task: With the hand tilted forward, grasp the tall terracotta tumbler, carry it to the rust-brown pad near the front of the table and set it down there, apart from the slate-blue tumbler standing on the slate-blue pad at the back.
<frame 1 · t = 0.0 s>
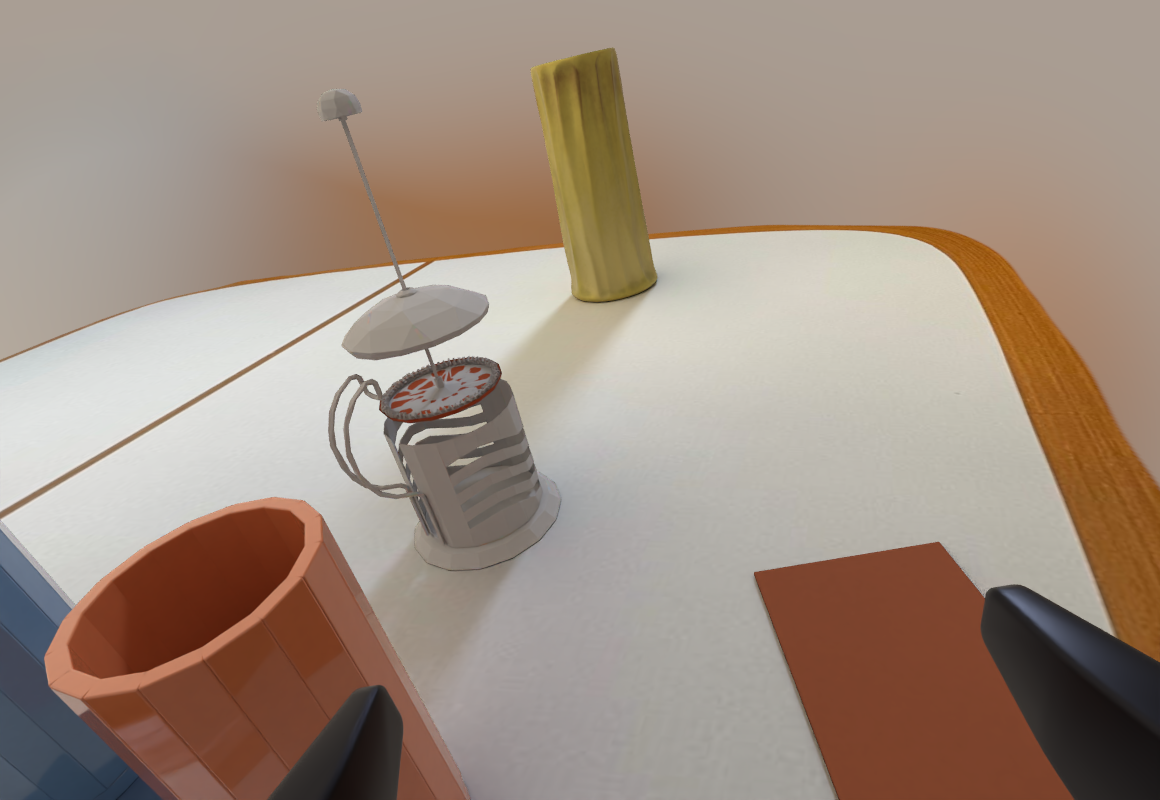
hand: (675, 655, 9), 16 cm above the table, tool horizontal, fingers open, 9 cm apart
blue tumbler: (90, 764, 28), resting on blue pad
vase: (615, 288, 73), on the table
clay pad: (906, 666, 24), on the table
blue pad: (92, 767, 28), on the table
french press: (478, 524, 38), on the table
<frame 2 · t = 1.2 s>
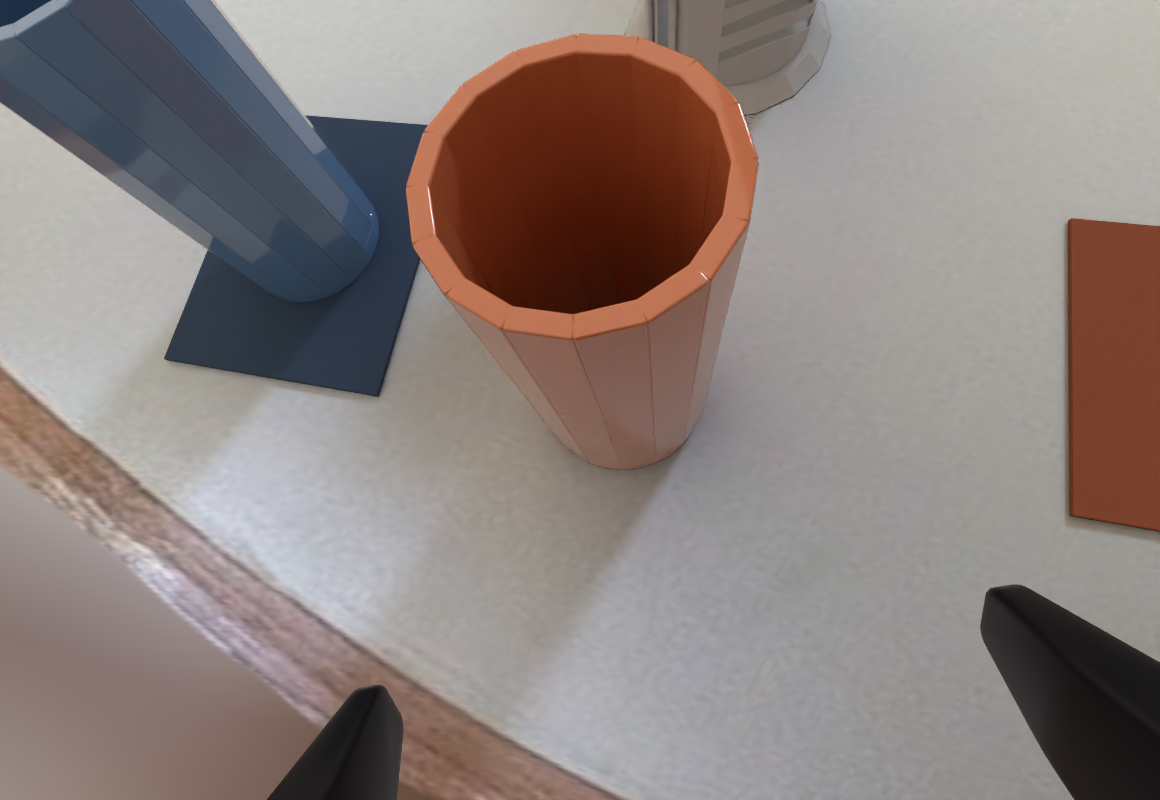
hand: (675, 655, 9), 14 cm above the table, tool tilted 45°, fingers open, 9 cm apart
blue tumbler: (314, 240, 28), resting on blue pad
terracotta tumbler: (622, 390, 24), on the table
blue pad: (316, 242, 28), on the table
french press: (709, 48, 29), on the table
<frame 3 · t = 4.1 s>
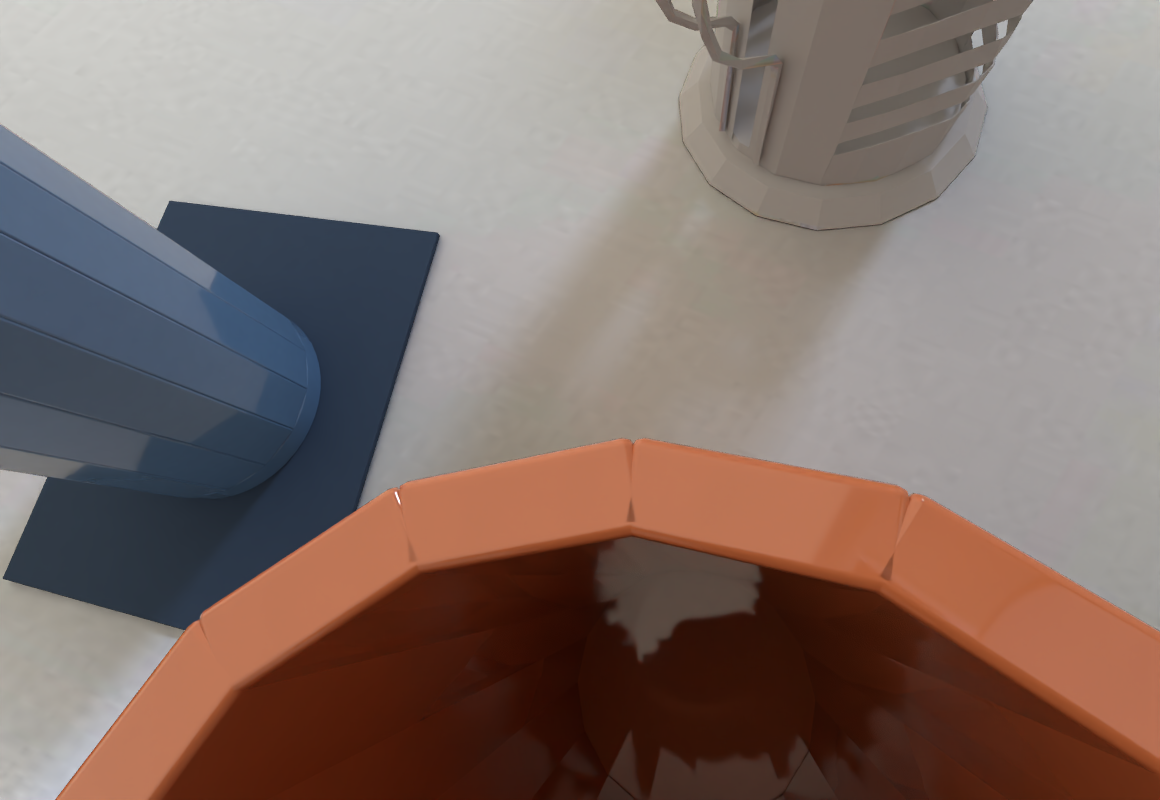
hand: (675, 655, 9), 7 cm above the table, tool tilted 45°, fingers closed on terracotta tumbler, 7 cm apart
blue tumbler: (227, 399, 19), resting on blue pad
terracotta tumbler: (692, 684, 15), on the table, touching gripper
blue pad: (232, 401, 20), on the table
french press: (804, 120, 20), on the table
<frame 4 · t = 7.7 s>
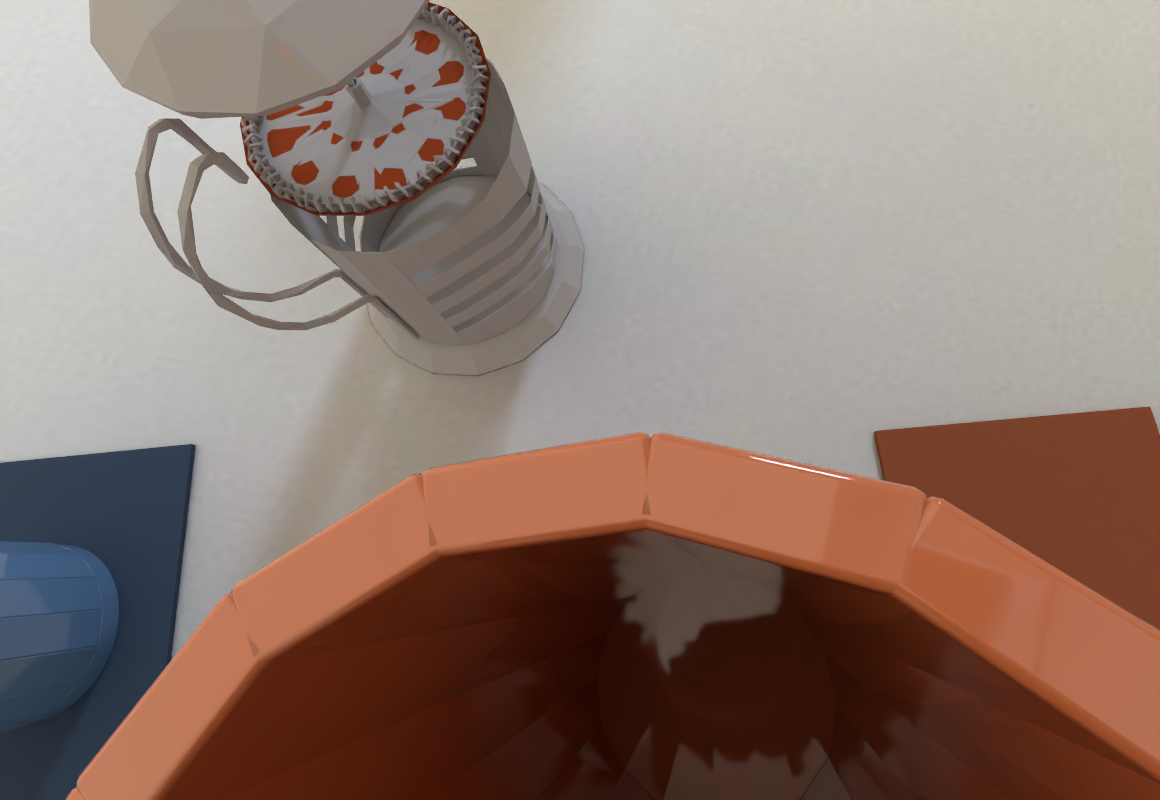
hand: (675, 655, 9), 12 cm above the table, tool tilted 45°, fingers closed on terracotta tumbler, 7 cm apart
blue tumbler: (43, 630, 23), resting on blue pad
clay pad: (1055, 598, 19), on the table
terracotta tumbler: (711, 684, 15), point 5 cm above the table, tilted 6°, touching gripper
blue pad: (49, 629, 23), on the table
french press: (459, 285, 25), on the table
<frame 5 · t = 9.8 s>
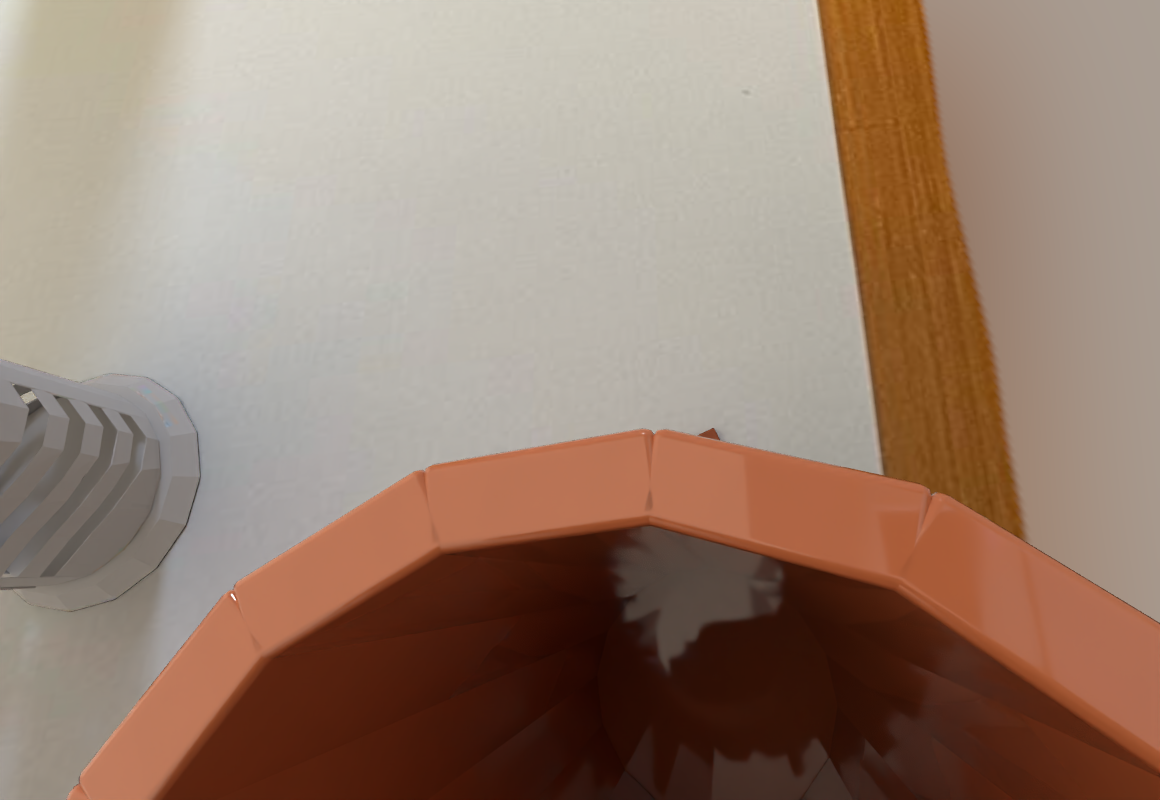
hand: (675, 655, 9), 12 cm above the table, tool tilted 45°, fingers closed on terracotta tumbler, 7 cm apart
terracotta tumbler: (712, 684, 15), point 5 cm above the table, tilted 6°, touching gripper
french press: (84, 507, 24), on the table
when the fingers open (8 cm above the table, at t = 11.5 s): terracotta tumbler stays where it is, resting on clay pad.
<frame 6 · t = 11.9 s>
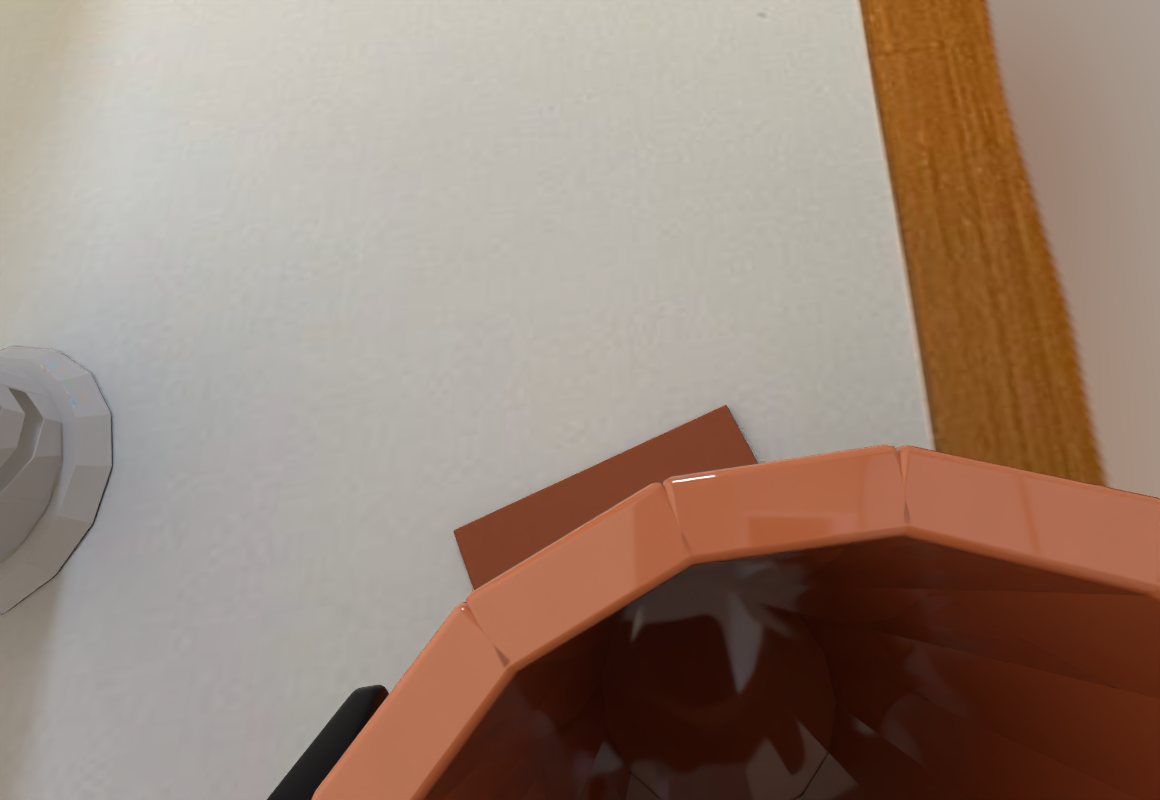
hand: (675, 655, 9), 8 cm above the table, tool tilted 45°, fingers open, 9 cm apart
clay pad: (679, 668, 16), on the table
terracotta tumbler: (712, 685, 15), resting on clay pad, touching gripper
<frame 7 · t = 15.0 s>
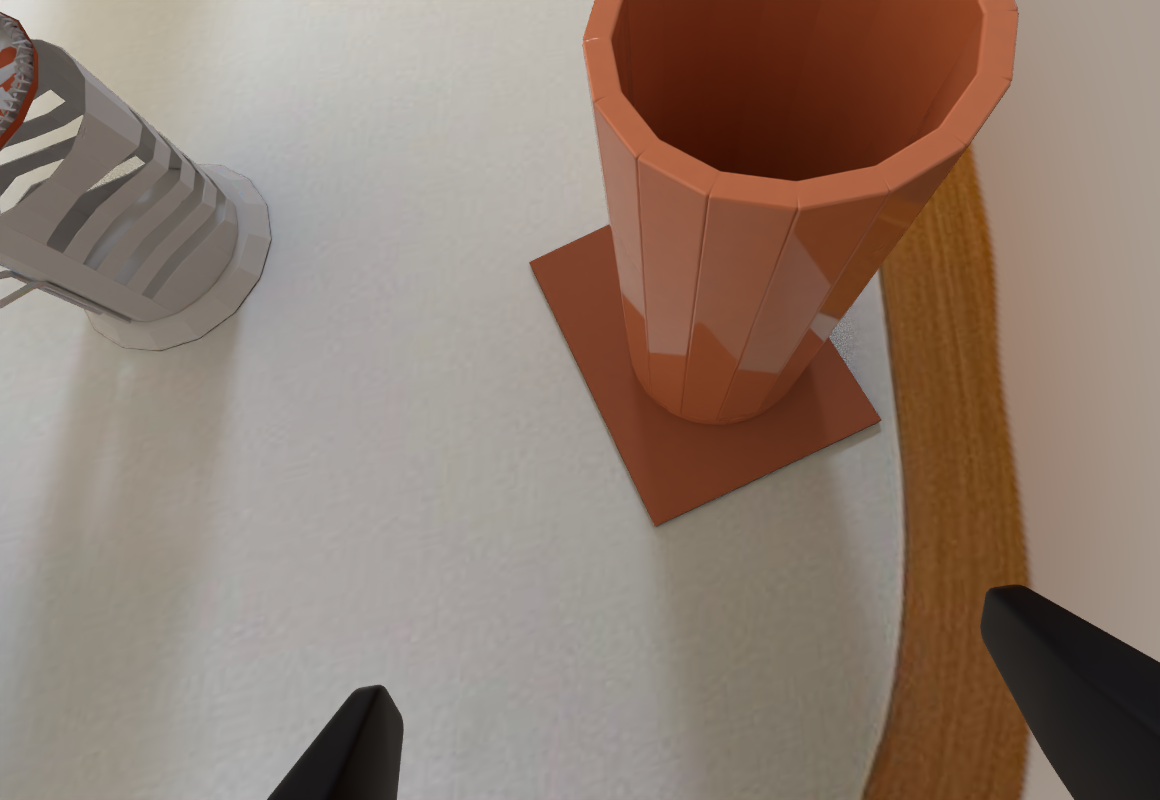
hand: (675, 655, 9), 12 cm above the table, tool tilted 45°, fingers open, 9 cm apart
clay pad: (691, 336, 23), on the table
terracotta tumbler: (714, 342, 23), resting on clay pad
french press: (168, 271, 28), on the table
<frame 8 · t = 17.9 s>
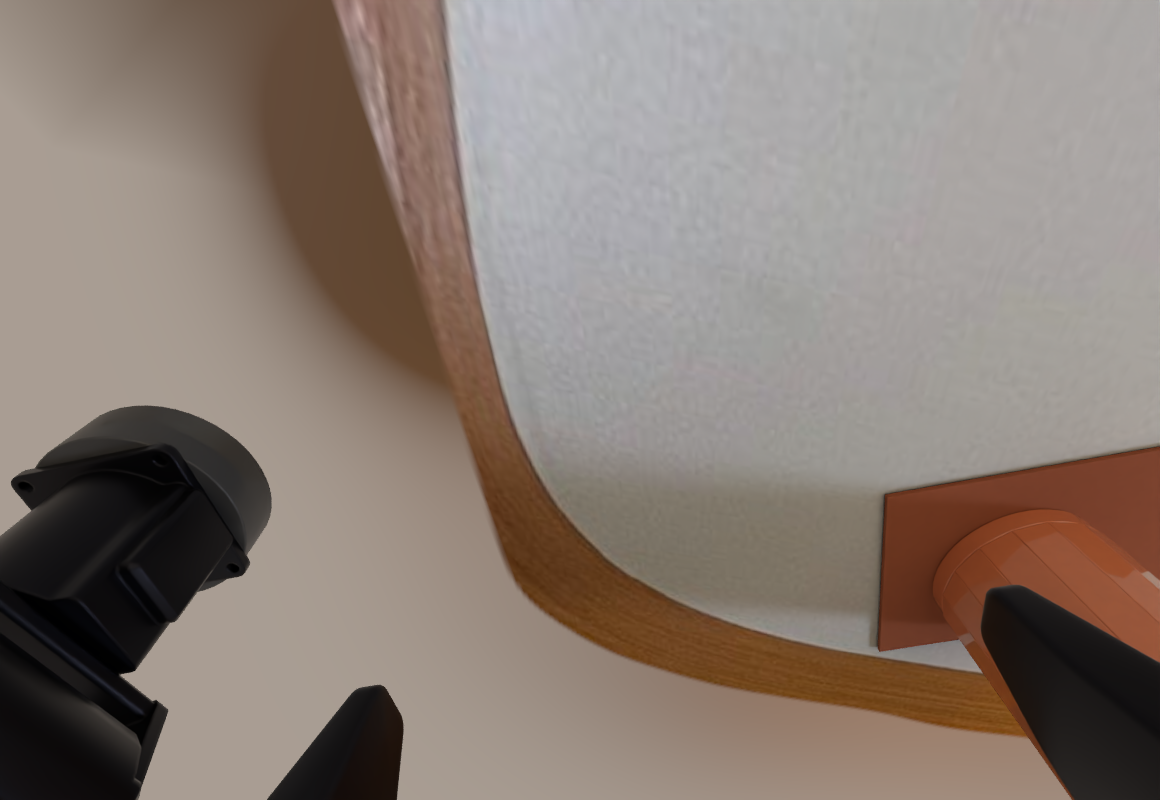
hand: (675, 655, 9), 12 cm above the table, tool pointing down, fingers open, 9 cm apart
clay pad: (1029, 553, 24), on the table
terracotta tumbler: (1013, 570, 24), resting on clay pad
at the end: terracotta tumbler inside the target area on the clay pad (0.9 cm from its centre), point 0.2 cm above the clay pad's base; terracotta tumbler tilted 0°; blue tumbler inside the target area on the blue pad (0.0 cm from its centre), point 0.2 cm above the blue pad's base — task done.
